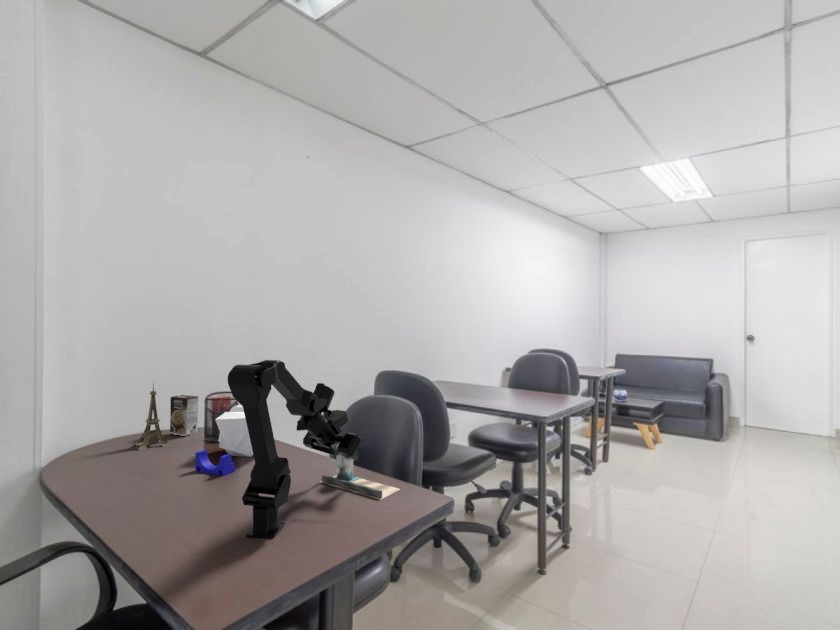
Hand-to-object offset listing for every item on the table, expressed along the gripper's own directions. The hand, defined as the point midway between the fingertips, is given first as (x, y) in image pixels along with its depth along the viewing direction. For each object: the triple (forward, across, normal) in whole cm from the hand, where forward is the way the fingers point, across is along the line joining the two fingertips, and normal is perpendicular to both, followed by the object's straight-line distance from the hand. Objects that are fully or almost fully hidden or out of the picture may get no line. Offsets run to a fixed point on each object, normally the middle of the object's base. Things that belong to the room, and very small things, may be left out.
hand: (345, 456), depth 133 cm
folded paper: (+6, +49, +5) cm, 50 cm away
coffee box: (+7, +96, +4) cm, 96 cm away
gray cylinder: (+5, 0, +5) cm, 7 cm away
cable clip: (-6, +41, +18) cm, 45 cm away
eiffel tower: (-4, +89, +15) cm, 90 cm away
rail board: (+4, -7, +6) cm, 10 cm away
